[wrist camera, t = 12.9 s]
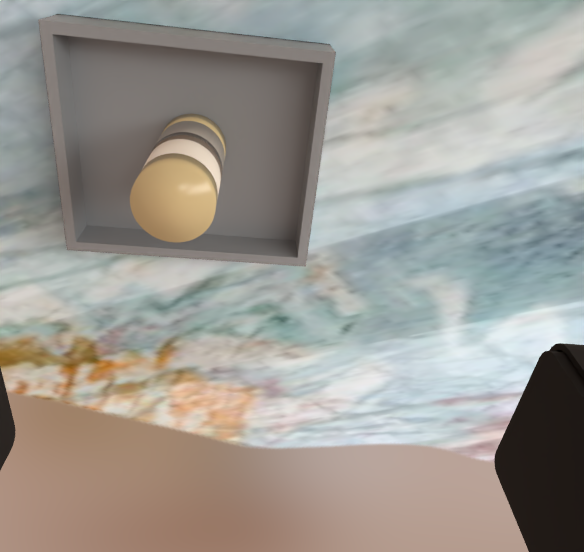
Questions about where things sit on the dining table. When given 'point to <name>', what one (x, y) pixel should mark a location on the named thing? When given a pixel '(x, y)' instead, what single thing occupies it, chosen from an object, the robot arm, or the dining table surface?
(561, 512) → the robot arm
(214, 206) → the fuse
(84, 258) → the dining table surface
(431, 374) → the dining table surface
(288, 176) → the tray
